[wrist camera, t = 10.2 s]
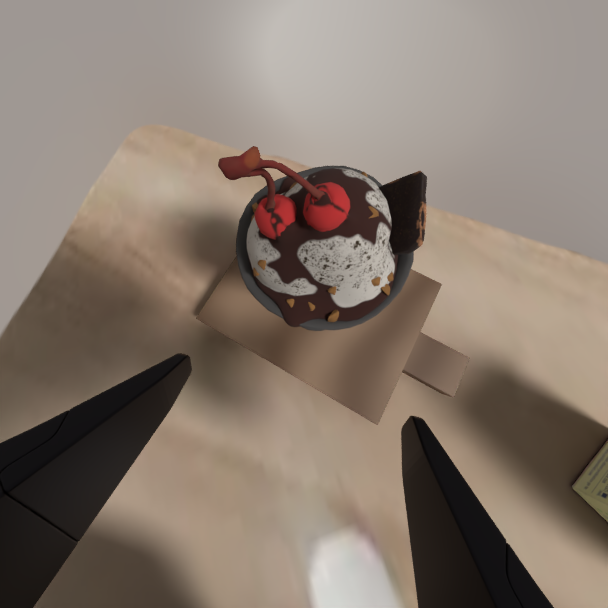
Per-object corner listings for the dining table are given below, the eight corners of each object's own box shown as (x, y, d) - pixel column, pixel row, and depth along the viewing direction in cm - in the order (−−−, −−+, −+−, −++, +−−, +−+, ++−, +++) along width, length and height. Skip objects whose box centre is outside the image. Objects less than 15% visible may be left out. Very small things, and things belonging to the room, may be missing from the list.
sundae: (260, 320, 18) (55, 189, 4) (297, 249, 19) (259, -70, 5) (336, 357, 17) (474, 387, 3) (370, 281, 19) (594, 19, 4)
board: (476, 311, 19) (490, 307, 18) (420, 447, 17) (430, 455, 16) (274, 211, 22) (272, 201, 20) (204, 320, 20) (195, 318, 18)
